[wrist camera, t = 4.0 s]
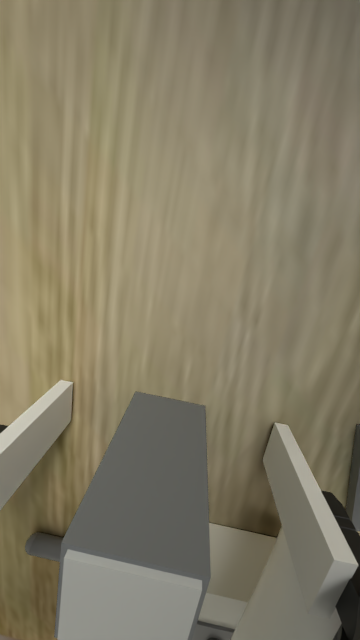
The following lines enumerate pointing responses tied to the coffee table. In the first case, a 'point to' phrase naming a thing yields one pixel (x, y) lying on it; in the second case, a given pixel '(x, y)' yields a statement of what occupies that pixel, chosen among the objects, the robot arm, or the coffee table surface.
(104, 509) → the block
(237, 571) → the power strip
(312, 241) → the coffee table surface
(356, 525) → the phone slab
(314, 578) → the robot arm
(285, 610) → the drinking glass
